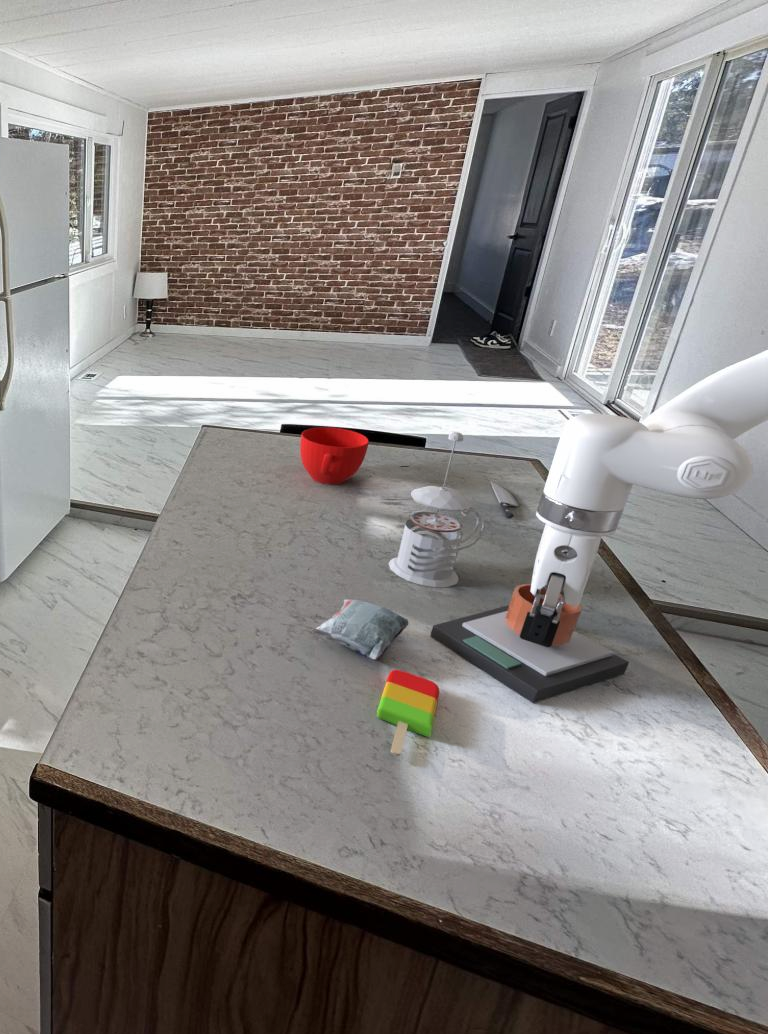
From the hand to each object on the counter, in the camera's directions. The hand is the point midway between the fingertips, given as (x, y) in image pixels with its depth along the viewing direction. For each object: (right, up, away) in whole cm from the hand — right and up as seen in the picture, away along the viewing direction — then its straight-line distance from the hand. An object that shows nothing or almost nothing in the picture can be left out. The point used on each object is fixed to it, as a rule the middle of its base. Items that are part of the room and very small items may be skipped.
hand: (538, 627), depth 87 cm
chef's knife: (+31, +14, +42) cm, 54 cm away
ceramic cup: (+2, +17, +55) cm, 58 cm away
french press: (0, +4, +21) cm, 21 cm away
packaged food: (-21, -4, +6) cm, 22 cm away
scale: (-1, -4, +1) cm, 4 cm away
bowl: (0, -1, 0) cm, 1 cm away
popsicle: (-24, -9, -8) cm, 27 cm away
